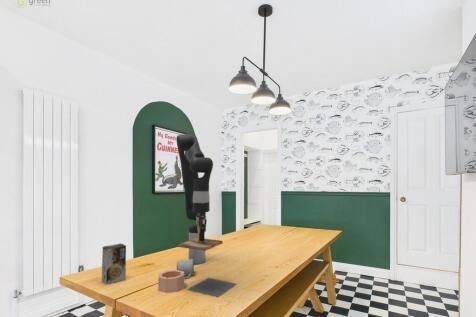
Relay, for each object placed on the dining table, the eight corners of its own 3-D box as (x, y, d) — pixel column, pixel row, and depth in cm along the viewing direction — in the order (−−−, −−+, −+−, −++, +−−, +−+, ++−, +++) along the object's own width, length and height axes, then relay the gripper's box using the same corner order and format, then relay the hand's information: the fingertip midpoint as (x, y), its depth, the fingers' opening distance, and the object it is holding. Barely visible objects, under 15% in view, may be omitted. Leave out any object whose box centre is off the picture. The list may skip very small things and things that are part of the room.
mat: (208, 279, 129) (208, 277, 129) (237, 285, 122) (237, 283, 122) (186, 291, 115) (186, 289, 115) (218, 298, 108) (218, 297, 108)
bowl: (170, 281, 126) (170, 268, 126) (189, 286, 121) (189, 272, 121) (152, 290, 116) (153, 276, 117) (171, 295, 111) (172, 280, 111)
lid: (197, 240, 130) (197, 225, 130) (222, 243, 123) (222, 227, 124) (178, 247, 117) (178, 230, 118) (205, 250, 111) (205, 233, 111)
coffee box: (120, 276, 134) (121, 243, 135) (125, 279, 129) (126, 245, 130) (100, 281, 127) (102, 246, 129) (105, 284, 123) (107, 248, 124)
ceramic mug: (177, 273, 138) (177, 258, 138) (193, 272, 139) (194, 257, 139) (175, 281, 127) (175, 264, 128) (192, 280, 128) (192, 264, 129)
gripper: (190, 200, 127) (190, 237, 126) (195, 202, 114) (195, 244, 113) (206, 199, 130) (206, 236, 128) (212, 202, 116) (212, 243, 115)
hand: (201, 239), depth 120 cm, fingers closed on lid, 2 cm apart
